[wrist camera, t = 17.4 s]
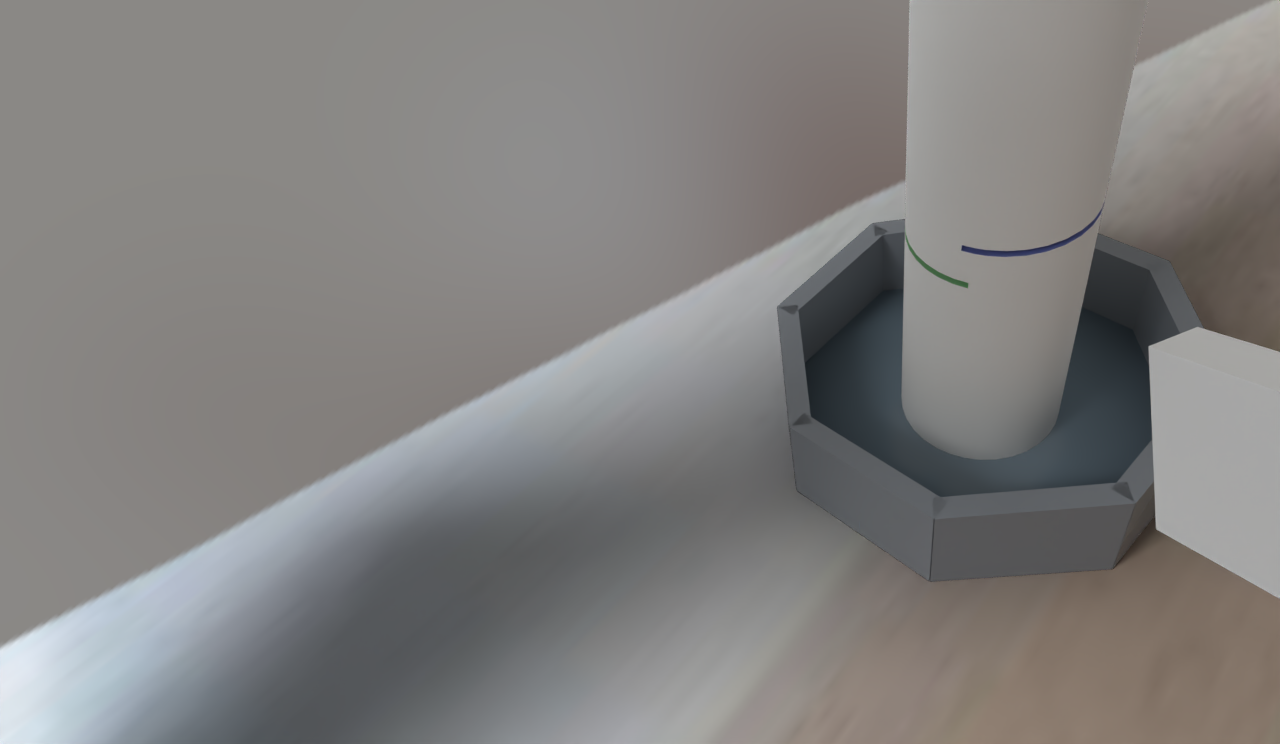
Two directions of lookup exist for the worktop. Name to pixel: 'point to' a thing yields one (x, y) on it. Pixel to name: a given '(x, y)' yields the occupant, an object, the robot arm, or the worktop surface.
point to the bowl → (961, 487)
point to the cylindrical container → (1004, 207)
